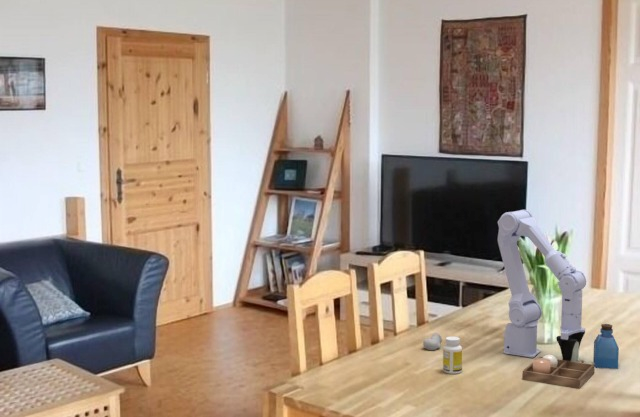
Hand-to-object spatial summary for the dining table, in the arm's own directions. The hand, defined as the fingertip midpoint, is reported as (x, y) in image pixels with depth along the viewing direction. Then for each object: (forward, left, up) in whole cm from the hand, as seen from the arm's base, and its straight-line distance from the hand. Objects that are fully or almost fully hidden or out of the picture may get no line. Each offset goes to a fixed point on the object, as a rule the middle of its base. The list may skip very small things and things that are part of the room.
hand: (570, 357), depth 254 cm
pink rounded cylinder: (-3, -17, -2) cm, 18 cm away
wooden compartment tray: (0, -13, -2) cm, 14 cm away
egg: (-3, -10, -2) cm, 10 cm away
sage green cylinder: (0, 0, -2) cm, 2 cm away
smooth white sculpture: (-41, -5, -2) cm, 42 cm away
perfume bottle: (+9, +4, -2) cm, 10 cm away
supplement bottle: (-27, -24, -2) cm, 37 cm away
